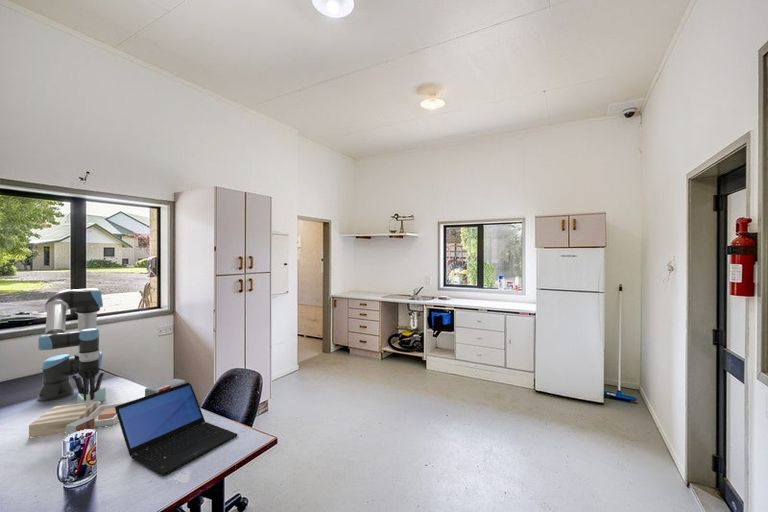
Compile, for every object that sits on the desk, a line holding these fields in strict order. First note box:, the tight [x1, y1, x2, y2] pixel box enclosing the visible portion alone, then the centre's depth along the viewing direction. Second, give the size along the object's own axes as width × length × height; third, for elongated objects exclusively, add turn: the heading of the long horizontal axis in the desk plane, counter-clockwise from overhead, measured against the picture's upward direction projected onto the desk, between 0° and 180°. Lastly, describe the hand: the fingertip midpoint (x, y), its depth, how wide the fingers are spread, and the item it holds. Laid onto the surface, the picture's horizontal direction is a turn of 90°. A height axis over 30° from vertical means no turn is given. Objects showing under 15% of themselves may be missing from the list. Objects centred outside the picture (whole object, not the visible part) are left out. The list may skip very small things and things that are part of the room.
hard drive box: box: [144, 378, 186, 397], centre depth 165 cm, size 16×8×20 cm, turn 157°
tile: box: [98, 408, 117, 420], centre depth 171 cm, size 7×7×3 cm
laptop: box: [115, 382, 238, 476], centre depth 149 cm, size 33×38×19 cm
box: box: [88, 401, 128, 429], centre depth 171 cm, size 20×13×4 cm, turn 20°
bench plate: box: [28, 401, 99, 439], centre depth 165 cm, size 20×18×6 cm
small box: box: [65, 417, 95, 437], centre depth 147 cm, size 8×6×10 cm
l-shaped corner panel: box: [76, 387, 106, 407], centre depth 186 cm, size 12×12×8 cm
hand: (89, 406), depth 168 cm, fingers closed
